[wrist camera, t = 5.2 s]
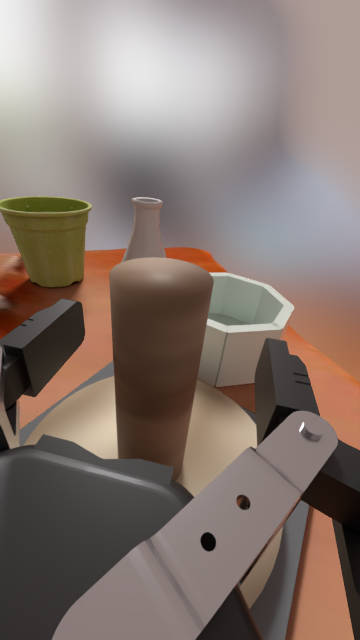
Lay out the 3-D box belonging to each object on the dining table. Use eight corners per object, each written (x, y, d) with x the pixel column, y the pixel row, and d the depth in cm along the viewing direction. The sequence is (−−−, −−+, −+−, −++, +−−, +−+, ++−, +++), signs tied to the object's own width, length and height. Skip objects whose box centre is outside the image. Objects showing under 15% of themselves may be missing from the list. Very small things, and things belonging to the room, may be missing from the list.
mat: (-78, 511, 12) (-83, 505, 12) (128, 354, 23) (128, 349, 23) (229, 917, 6) (233, 925, 6) (316, 450, 17) (319, 445, 17)
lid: (-58, 509, 12) (-234, 278, 6) (133, 357, 22) (134, 212, 16) (202, 834, 7) (606, 1258, 1) (301, 443, 17) (392, 273, 11)
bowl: (140, 350, 23) (141, 299, 21) (196, 307, 31) (202, 264, 28) (252, 405, 19) (271, 350, 17) (285, 340, 27) (301, 294, 24)
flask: (105, 279, 35) (101, 194, 30) (152, 269, 39) (155, 193, 34) (134, 302, 30) (135, 207, 25) (184, 289, 35) (194, 205, 29)
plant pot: (6, 298, 29) (-17, 211, 24) (20, 265, 36) (4, 193, 32) (99, 292, 32) (93, 214, 27) (94, 263, 39) (89, 197, 35)
